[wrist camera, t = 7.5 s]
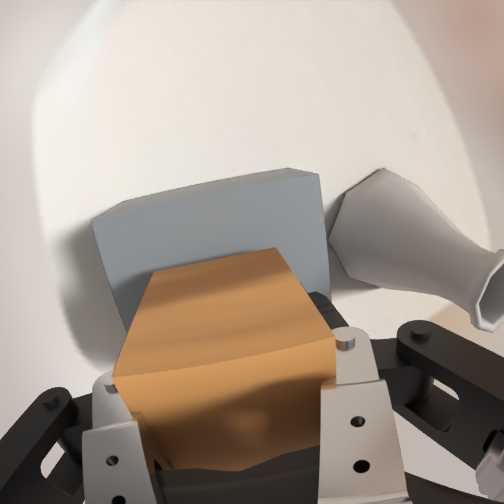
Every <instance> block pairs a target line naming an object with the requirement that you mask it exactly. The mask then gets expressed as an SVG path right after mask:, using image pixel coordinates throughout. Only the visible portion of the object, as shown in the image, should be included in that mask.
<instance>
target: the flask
mask: <svg viewBox="0 0 504 504" xmlns="http://www.w3.org/2000/svg"><path fill="white" fill-rule="evenodd" d="M328 241H329V243H330V244H331V246H332V248H333V249H334V251H335V253H336V255H337V256H338V258H339V260H340V262H341V264H342V265H343V267H344V269H345V271H346V272H347V274H348V276H349V277H350V278H353V279H356V280H359V281H363V282H366V283H369V284H372V285H375V286H379V287H382V288H386V289H392V290H403V291H413V292H419V293H426V294H432V295H438V296H440V297H443V298H445V299H448V300H450V301H452V302H454V303H455V304H457V305H458V306H460V307H461V308H463V309H464V310H466V311H467V312H468V313H469V314H470V319H471V323H472V324H473V325H474V327H476V328H477V329H479V330H483V331H487V332H490V333H493V332H494V331H495V330H496V329H497V328H498V327H499V326H500V325H501V324H502V323H503V322H504V250H502V249H500V250H498V251H497V252H496V253H493V252H490V251H488V250H486V249H484V248H481V247H480V246H479V245H477V244H476V243H475V242H473V241H472V240H471V239H469V238H468V237H466V236H465V235H464V234H463V233H462V232H461V231H460V230H459V229H458V228H457V227H456V226H455V224H454V223H453V222H452V221H451V220H450V219H449V218H448V217H447V216H446V215H445V214H444V213H443V212H442V211H441V210H440V209H439V208H438V207H437V205H436V204H435V203H434V202H433V201H432V200H431V199H430V198H429V197H428V195H427V194H426V193H425V192H424V191H423V190H422V189H421V188H420V187H419V186H417V185H415V184H413V183H412V182H410V181H408V180H406V179H404V178H402V177H401V176H399V175H397V174H395V173H393V172H391V171H389V170H387V169H385V168H382V169H381V170H379V171H378V172H376V173H375V174H373V175H372V176H370V177H369V178H367V179H366V180H364V181H363V182H362V183H360V184H359V185H357V186H356V187H354V188H353V189H351V190H350V191H348V192H347V193H346V195H345V197H344V200H343V203H342V205H341V208H340V210H339V213H338V216H337V218H336V221H335V223H334V226H333V229H332V231H331V234H330V236H329V239H328Z"/></svg>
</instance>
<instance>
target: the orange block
mask: <svg viewBox="0 0 504 504" xmlns="http://www.w3.org/2000/svg"><path fill="white" fill-rule="evenodd" d="M335 375H336V345H335V335H334V334H333V332H332V331H331V329H330V328H329V326H328V325H327V323H326V321H325V320H324V318H323V317H322V315H321V314H320V312H319V311H318V309H317V308H316V306H315V305H314V303H313V302H312V300H311V299H310V297H309V296H308V294H307V293H306V291H305V290H304V288H303V287H302V285H301V284H300V282H299V281H298V279H297V278H296V276H295V275H294V273H293V272H292V270H291V269H290V267H289V266H288V264H287V263H286V261H285V260H284V258H283V257H282V255H281V254H280V252H279V251H278V249H277V248H276V247H273V248H268V249H263V250H258V251H253V252H248V253H243V254H238V255H233V256H228V257H223V258H218V259H213V260H208V261H203V262H198V263H193V264H189V265H184V266H179V267H174V268H169V269H164V270H159V271H154V273H153V275H152V277H151V280H150V282H149V284H148V286H147V289H146V291H145V293H144V296H143V298H142V300H141V303H140V305H139V307H138V310H137V312H136V315H135V317H134V319H133V322H132V324H131V327H130V329H129V332H128V334H127V337H126V339H125V342H124V344H123V347H122V349H121V352H120V355H119V357H118V360H117V362H116V365H115V368H114V370H113V373H112V376H111V379H112V381H113V383H114V384H115V386H116V388H117V390H118V392H119V394H120V396H121V398H122V399H123V401H124V403H125V405H126V407H127V408H128V410H129V412H137V411H141V412H142V414H143V416H144V417H145V419H146V421H147V423H148V425H149V429H150V432H151V435H152V438H153V440H154V442H155V444H156V446H157V448H158V449H159V451H160V452H161V454H162V455H163V457H164V459H165V460H166V461H168V460H170V461H171V462H172V464H173V465H174V467H175V468H176V469H188V468H199V469H209V470H221V471H242V470H245V469H247V468H250V467H253V466H255V465H258V464H260V463H263V462H265V461H267V460H270V459H272V458H275V457H277V456H279V455H281V454H285V453H289V452H293V451H298V450H302V449H306V448H309V447H313V446H317V445H320V436H321V385H322V379H325V378H328V377H332V376H335Z"/></svg>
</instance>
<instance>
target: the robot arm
mask: <svg viewBox="0 0 504 504" xmlns="http://www.w3.org/2000/svg"><path fill="white" fill-rule="evenodd" d="M300 284H301V283H300ZM301 285H302V284H301ZM302 287H303V286H302ZM303 288H304V287H303ZM304 290H305V289H304ZM305 291H306V290H305ZM306 293H307V292H306ZM307 294H308V296H309V297H310V299H311V300H312V302H313V303H314V305H315V306H316V308H317V309H318V311H319V312H320V314H321V315H322V317H323V318H324V320H325V321H326V323H327V325H328V326H329V328H330V329H331V331H332V332H333V334H334V335H335V345H336V375H335V376H332V377H328V378H325V379H322V385H321V436H320V445H317V446H313V447H309V448H306V449H302V450H298V451H293V452H289V453H285V454H281V455H279V456H277V457H275V458H272V459H270V460H267V461H265V462H263V463H260V464H258V465H255V466H253V467H250V468H247V469H245V470H242V471H221V470H209V469H199V468H188V469H176V468H175V467H174V465H173V464H172V462H171V461H170V460H168V461H166V460H165V459H164V457H163V455H162V454H161V452H160V451H159V449H158V448H157V446H156V444H155V442H154V440H153V438H152V435H151V432H150V429H149V425H148V423H147V421H146V419H145V417H144V416H143V414H142V412H141V411H137V412H129V410H128V408H127V407H126V405H125V403H124V401H123V399H122V398H121V396H120V394H119V392H118V390H117V388H116V386H115V384H114V383H113V381H112V379H111V376H112V373H113V370H112V371H109V372H107V373H105V374H103V375H102V376H100V377H99V378H98V379H97V380H96V381H95V383H94V385H93V389H92V393H90V394H87V395H83V396H81V397H77V398H72V396H71V395H70V393H69V391H68V390H67V389H65V388H63V387H55V388H51V389H48V390H46V391H45V392H43V393H42V394H41V395H39V396H38V397H37V399H36V400H35V401H34V402H33V403H32V404H31V405H30V406H29V407H28V409H27V410H26V411H25V412H24V413H23V414H22V415H21V417H20V418H19V419H18V420H17V421H16V422H15V423H14V425H13V426H12V427H11V428H10V429H9V430H8V432H7V433H6V434H5V435H4V436H3V437H2V439H1V440H0V504H83V502H84V500H85V504H504V357H502V356H499V355H498V354H496V353H494V352H492V351H490V350H487V349H486V348H484V347H482V346H480V345H478V344H476V343H474V342H472V341H469V340H467V339H465V338H463V337H461V336H459V335H457V334H455V333H453V332H451V331H449V330H447V329H445V328H443V327H441V326H439V325H437V324H435V323H432V322H429V321H425V320H414V321H410V322H407V323H405V324H403V325H402V326H400V327H399V329H398V331H397V338H390V339H379V340H375V339H370V338H369V335H368V334H367V333H366V332H365V331H363V330H362V329H359V328H355V327H350V326H349V325H348V324H347V322H346V321H345V320H344V319H343V317H342V316H341V315H340V313H339V312H338V311H337V310H336V308H335V307H334V305H333V304H332V303H331V302H330V300H329V299H328V298H327V296H325V295H323V294H321V293H319V292H317V291H315V292H311V293H307ZM126 337H127V336H126ZM125 339H126V338H125ZM124 342H125V341H124ZM122 347H123V346H122ZM120 352H121V351H120ZM119 355H120V354H119ZM118 357H119V356H118ZM117 360H118V359H117ZM115 365H116V364H115ZM114 368H115V367H114ZM434 378H435V379H436V380H438V381H440V382H441V383H443V384H444V385H446V386H448V387H449V388H451V389H452V390H454V391H455V392H456V394H457V395H458V397H459V400H457V399H456V398H454V397H453V396H451V395H449V394H448V393H446V392H445V391H443V390H441V389H440V388H438V387H437V386H435V385H434V384H433V383H434ZM392 409H393V410H394V411H395V412H397V413H398V414H399V415H401V416H402V417H403V418H405V419H406V420H407V421H409V422H410V423H411V424H413V425H414V426H415V427H417V428H418V429H419V430H421V431H422V432H423V433H425V434H426V435H427V436H429V437H430V438H431V439H433V440H434V441H435V442H437V443H438V444H439V445H441V446H442V447H444V448H445V449H446V450H448V451H449V452H450V453H452V454H453V455H455V456H456V457H458V458H459V459H460V460H462V461H463V462H464V463H466V464H467V465H468V466H470V467H471V468H473V469H474V470H476V480H477V483H478V485H479V491H480V493H481V494H484V495H487V496H488V499H487V498H483V497H480V496H476V495H472V494H469V493H465V492H462V491H459V490H456V489H452V488H449V487H446V486H443V485H440V484H437V483H435V482H432V481H429V480H426V479H423V478H421V477H418V476H415V475H412V474H410V473H407V472H405V471H404V467H403V461H402V456H401V450H400V445H399V439H398V434H397V430H396V424H395V419H394V414H393V410H392ZM56 442H57V443H58V444H59V445H60V446H61V448H62V449H63V450H64V451H65V453H64V454H63V456H62V457H61V458H60V460H59V461H58V463H57V464H56V465H55V467H54V468H53V470H52V471H51V473H50V474H49V476H48V477H47V479H46V478H45V477H44V476H43V475H42V473H41V468H40V466H41V463H42V460H43V459H44V458H45V456H46V455H47V454H48V452H49V451H50V450H51V448H52V447H53V446H54V444H55V443H56Z"/></svg>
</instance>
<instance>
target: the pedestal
mask: <svg viewBox="0 0 504 504" xmlns="http://www.w3.org/2000/svg"><path fill="white" fill-rule="evenodd" d="M91 224H92V228H93V231H94V235H95V239H96V242H97V246H98V249H99V253H100V256H101V259H102V263H103V266H104V269H105V272H106V275H107V278H108V281H109V284H110V287H111V290H112V293H113V296H114V299H115V302H116V305H117V307H118V310H119V313H120V316H121V318H122V321H123V323H124V326H125V329H126V331H127V334H128V332H129V329H130V327H131V324H132V322H133V319H134V317H135V315H136V312H137V310H138V307H139V305H140V303H141V300H142V298H143V296H144V293H145V291H146V289H147V286H148V284H149V282H150V280H151V277H152V275H153V273H154V271H159V270H164V269H169V268H174V267H179V266H184V265H189V264H193V263H198V262H203V261H208V260H213V259H218V258H223V257H228V256H233V255H238V254H243V253H248V252H253V251H258V250H263V249H268V248H273V247H276V248H277V249H278V251H279V252H280V254H281V255H282V257H283V258H284V260H285V261H286V263H287V264H288V266H289V267H290V269H291V270H292V272H293V273H294V275H295V276H296V278H297V279H298V281H299V282H300V283H301V284H302V286H303V287H304V289H305V290H306V292H307V293H311V292H315V291H317V292H319V293H321V294H323V295H325V296H327V298H328V299H329V300H330V302H331V287H330V274H329V262H328V251H327V240H326V230H325V221H324V212H323V203H322V195H321V187H320V179H319V174H316V173H312V172H307V171H302V170H297V169H292V168H284V169H278V170H272V171H266V172H260V173H254V174H248V175H243V176H237V177H232V178H226V179H221V180H216V181H211V182H206V183H201V184H196V185H191V186H187V187H182V188H178V189H173V190H169V191H164V192H160V193H155V194H151V195H147V196H143V197H139V198H134V199H130V200H126V201H123V202H121V203H119V204H118V205H116V206H114V207H113V208H111V209H109V210H107V211H106V212H104V213H102V214H101V215H99V216H97V217H96V218H94V219H92V220H91ZM331 303H332V302H331Z"/></svg>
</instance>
